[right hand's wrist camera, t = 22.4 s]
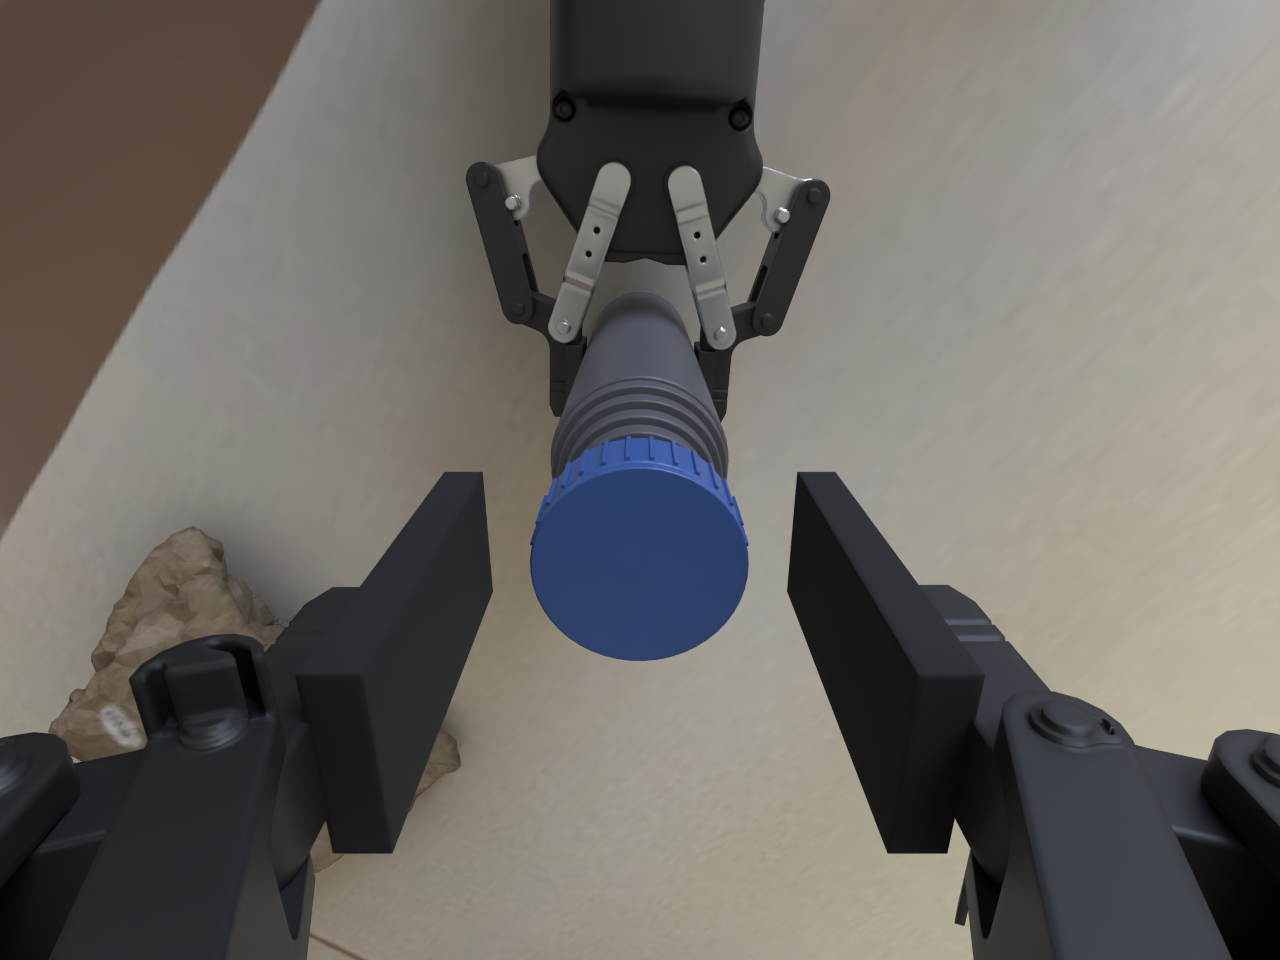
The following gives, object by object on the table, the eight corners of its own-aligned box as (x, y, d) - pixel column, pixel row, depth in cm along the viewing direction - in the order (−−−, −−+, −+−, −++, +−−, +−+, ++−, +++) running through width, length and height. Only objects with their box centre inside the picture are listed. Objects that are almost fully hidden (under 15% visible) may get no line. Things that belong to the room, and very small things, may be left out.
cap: (628, 648, 16) (626, 699, 14) (497, 518, 15) (479, 557, 13) (779, 540, 15) (796, 582, 13) (651, 391, 14) (654, 417, 12)
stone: (2, 681, 39) (-66, 756, 33) (199, 502, 39) (163, 548, 33) (310, 849, 48) (296, 929, 43) (471, 704, 48) (478, 766, 42)
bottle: (697, 306, 35) (793, 472, 13) (671, 394, 37) (719, 675, 15) (605, 281, 35) (546, 411, 13) (584, 372, 36) (498, 627, 14)
